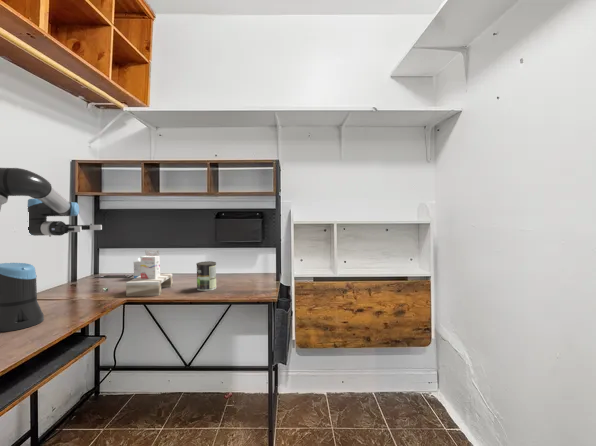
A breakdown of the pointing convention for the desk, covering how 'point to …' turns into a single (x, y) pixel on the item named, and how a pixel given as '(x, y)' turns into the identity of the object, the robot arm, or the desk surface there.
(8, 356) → the desk surface
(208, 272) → the coffee can
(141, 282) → the shelf bridge
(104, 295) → the desk surface
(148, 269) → the ink cartridge box
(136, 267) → the ink box
